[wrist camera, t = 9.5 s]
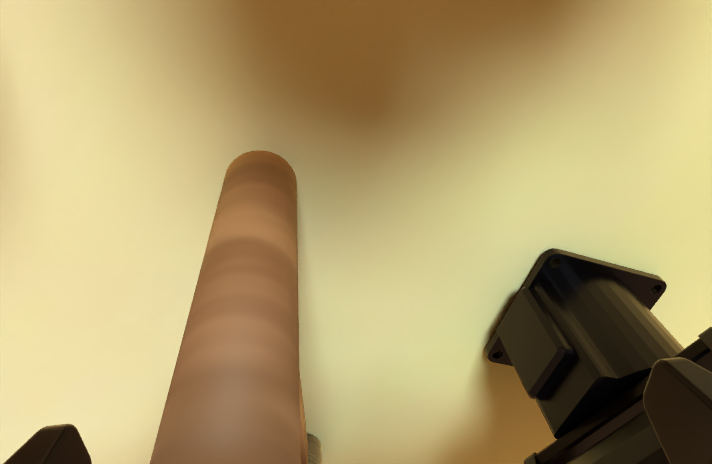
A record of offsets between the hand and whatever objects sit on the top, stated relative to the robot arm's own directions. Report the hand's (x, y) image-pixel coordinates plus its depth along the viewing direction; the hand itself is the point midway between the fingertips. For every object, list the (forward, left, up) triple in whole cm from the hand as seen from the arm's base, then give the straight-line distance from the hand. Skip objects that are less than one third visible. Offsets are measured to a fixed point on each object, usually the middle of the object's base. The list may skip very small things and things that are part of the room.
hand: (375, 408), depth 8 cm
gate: (-1, +9, -12) cm, 15 cm away
